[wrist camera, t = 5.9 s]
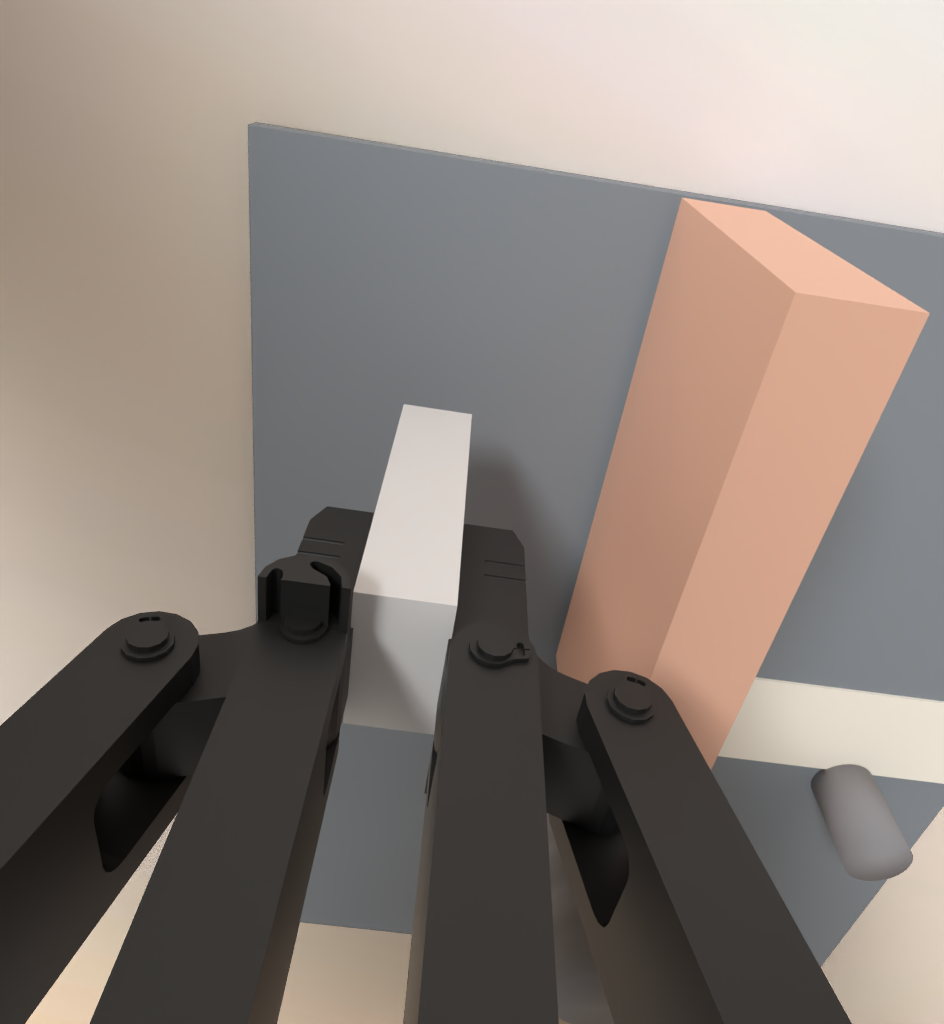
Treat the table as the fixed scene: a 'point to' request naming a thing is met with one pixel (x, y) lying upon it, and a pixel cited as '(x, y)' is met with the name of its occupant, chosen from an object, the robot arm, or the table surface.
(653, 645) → the hinged panel
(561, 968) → the base
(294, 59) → the table surface
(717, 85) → the table surface
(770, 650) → the card
